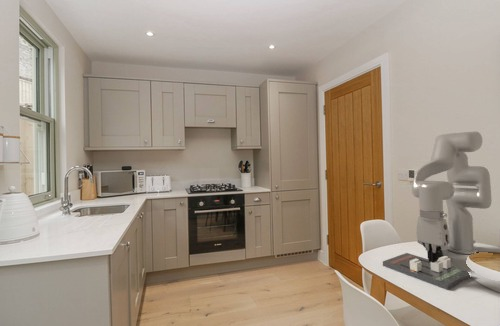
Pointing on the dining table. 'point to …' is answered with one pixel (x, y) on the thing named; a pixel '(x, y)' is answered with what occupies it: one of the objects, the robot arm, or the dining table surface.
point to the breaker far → (445, 262)
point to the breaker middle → (437, 266)
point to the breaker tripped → (415, 265)
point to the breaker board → (427, 271)
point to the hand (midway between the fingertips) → (432, 261)
